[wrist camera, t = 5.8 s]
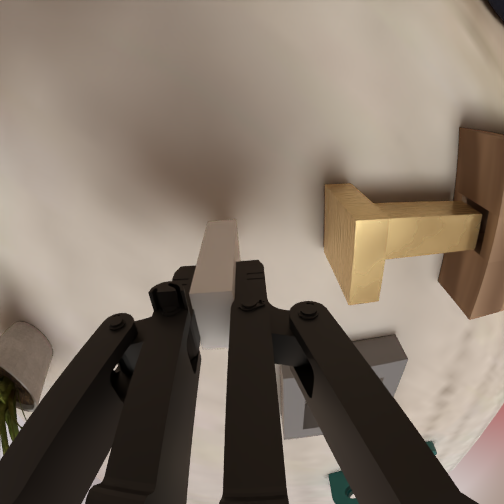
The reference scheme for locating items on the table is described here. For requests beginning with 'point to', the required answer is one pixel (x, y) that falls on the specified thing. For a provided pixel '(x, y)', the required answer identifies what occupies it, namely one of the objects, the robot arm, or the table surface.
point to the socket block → (491, 228)
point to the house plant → (21, 374)
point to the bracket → (343, 489)
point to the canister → (498, 7)
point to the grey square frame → (378, 357)
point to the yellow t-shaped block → (388, 235)
